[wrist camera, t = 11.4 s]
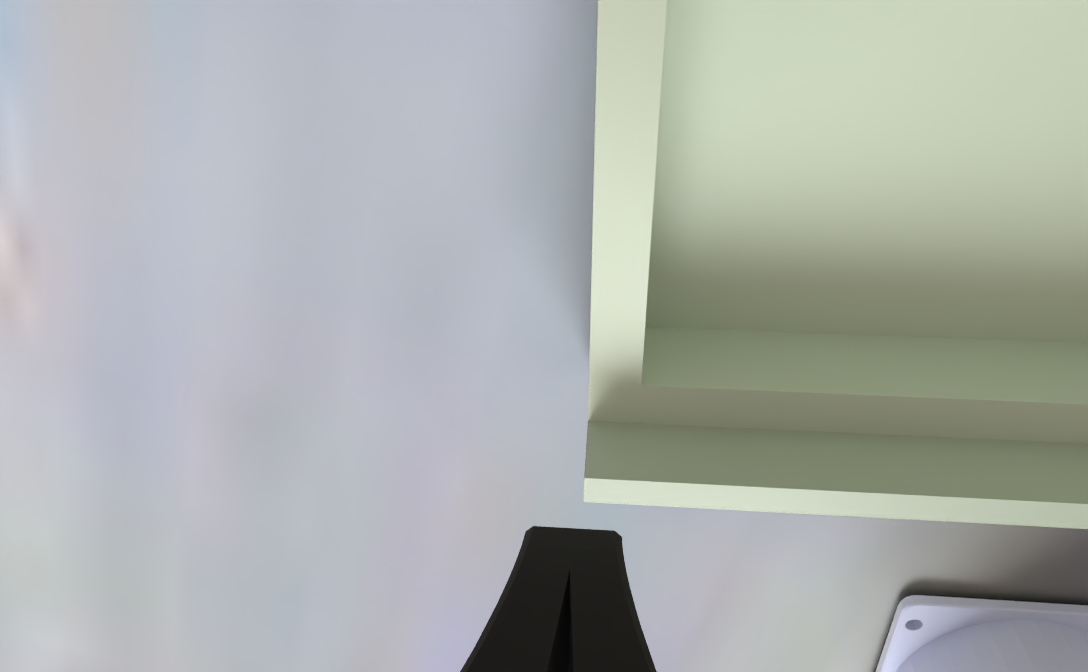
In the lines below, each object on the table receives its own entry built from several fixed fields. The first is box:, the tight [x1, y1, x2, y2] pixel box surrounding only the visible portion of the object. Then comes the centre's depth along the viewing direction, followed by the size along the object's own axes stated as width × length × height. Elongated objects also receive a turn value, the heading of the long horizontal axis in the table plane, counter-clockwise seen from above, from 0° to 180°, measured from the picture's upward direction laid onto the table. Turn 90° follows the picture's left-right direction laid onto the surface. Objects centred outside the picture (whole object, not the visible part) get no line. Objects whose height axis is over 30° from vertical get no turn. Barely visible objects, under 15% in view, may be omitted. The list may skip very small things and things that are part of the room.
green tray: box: [584, 0, 1088, 529], centre depth 16 cm, size 13×17×5 cm
